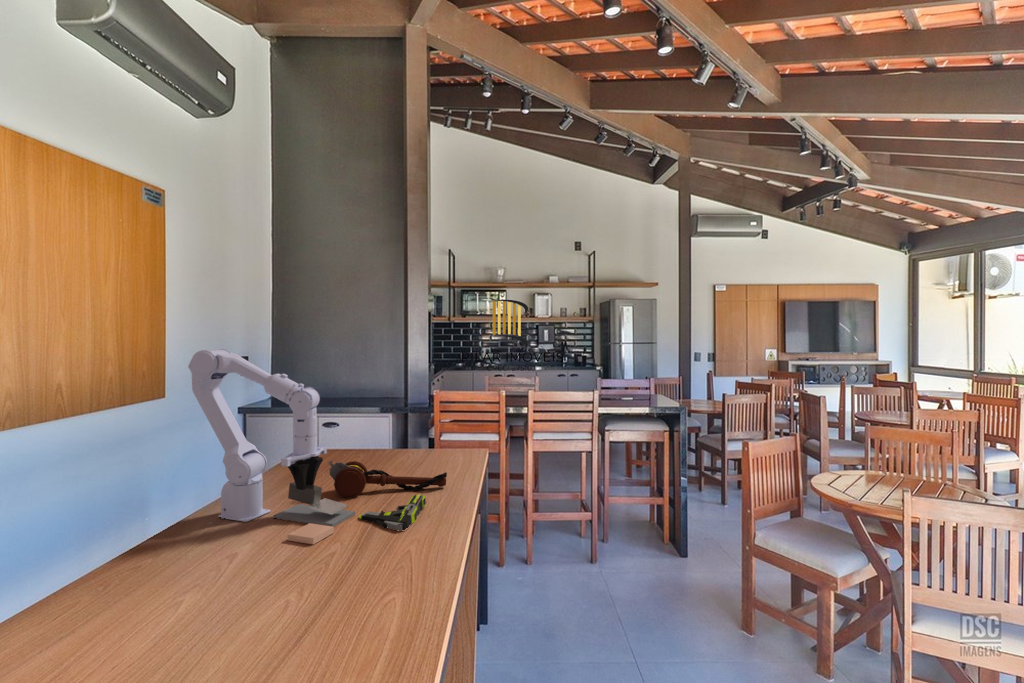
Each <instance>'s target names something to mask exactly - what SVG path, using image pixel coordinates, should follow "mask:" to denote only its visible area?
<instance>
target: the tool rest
mask: <svg viewBox="0 0 1024 683" xmlns="http://www.w3.org/2000/svg"><path fill="white" fill-rule="evenodd" d="M355 515H356V511H353V510H347V509H342V510H340V511H338V512H336V513H334V514H332V515H331V514H328V513H324V512H321V511H317V510H314V509H311V508H309V504H304V503H298V504H296V505H293V506H291V507H288V508H286V509H285V510H282V511H280V512H278V513H275V514H273V518H272V519H274V518H277V519H276V520H280V519H283V520H282V521H287V520H291V521H290V522H294V521H297V522H296V523H300V522H303V523H302V524H307V523H308V524H309V523H312V524H318V525H325V526H332V527H334V528H335V527H336V526H337V525H339V524H341V523H342V522H345V521H346V520H348V519H350V518H352V517H353V516H355Z"/></svg>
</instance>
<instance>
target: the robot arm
mask: <svg viewBox="0 0 1024 683" xmlns="http://www.w3.org/2000/svg"><path fill="white" fill-rule="evenodd" d="M187 367H188V369H189V371H190V373H191V390H192V393H193V394H194V397H195V399H196V400H197V402H198V404H199V406H200V407H201V409H202V411H203V413H204V415H205V417H206V419H207V420H208V422H209V424H210V426H211V428H212V430H213V431H214V434H215V435H216V437H217V439H218V441H219V443H220V445H221V447H222V448H223V450H224V455H223V458H222V463H223V465H224V467H225V468H224V469H225V477H226V479H227V480H228V481H226V482H225V483H224V484H223V486H222V488H221V493H220V514H218V515H217V517H221V518H220V519H224V518H225V520H231V521H238V522H244V523H246V522H250V521H253V520H254V519H257V518H259V517H262V516H264V515H266V514H268V513H270V512H271V509H267V508H263V506H264V504H263V503H264V502H263V500H264V499H263V495H264V494H263V489H264V488H263V487H264V486H263V484H264V482H263V473H264V471H265V470H266V468H267V466H268V460H267V457H266V456H265V454H264V453H262V452H261V451H259V450H258V449H257V446H256V445H254V444H252V442H250V441H248V440H247V438H246V436H245V435H244V433H243V431H242V428H241V427H240V425H239V424H238V422H237V419H236V418H235V416H234V414H233V412H232V411H231V409H230V407H229V405H228V403H227V401H226V399H225V397H224V396H223V393H222V392H221V390H220V386H221V384H222V382H223V380H224V379H225V378H226V377H227V376H228V375H229V374H232V373H234V374H237V375H240V376H241V377H244V378H245V379H248V380H250V381H252V382H255V383H256V384H259V385H261V386H263V388H264V391H265V393H266V394H268V395H269V396H272V397H273V398H276V399H277V400H279V401H280V402H282V403H285V404H286V405H288V406H289V409H291V411H292V452H291V453H289V454H288V455H286V456H284V457H281V458H280V460H281V461H280V466H281V467H287V469H288V470H289V471H290V473H291V475H292V478H293V482H294V481H295V484H296V488H297V489H299V490H304V489H305V487H306V483H307V484H311V485H315V480H316V478H317V473H318V471H319V468H320V466H321V464H322V462H323V457H322V456H320V455H326V454H328V452H327V450H328V447H327V446H326V445H325V446H323V445H319V446H318V443H317V442H318V438H317V437H318V426H317V425H318V421H317V420H318V418H317V417H318V416H317V414H318V413H317V411H318V410H317V408H318V407H317V406H318V405H319V403H320V402H321V397H320V393H319V392H318V391H317V390H316V389H315V388H314V387H312V386H306V387H304V386H305V384H304V383H297V382H296V381H294V380H292V379H290V378H289V375H288V374H286V373H274V374H271V373H269V372H267V371H265V370H264V369H262V368H260V367H259V366H257V365H255V364H253V363H252V362H250V361H248V360H247V359H245V358H243V357H242V356H240V355H239V354H238V353H234V352H231V351H230V350H228V349H225V348H221V349H213V350H211V349H210V350H207V349H202V350H199V351H196V352H195V353H194V354H193V355H192V358H191V360H190V361H189V363H188V366H187Z"/></svg>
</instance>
